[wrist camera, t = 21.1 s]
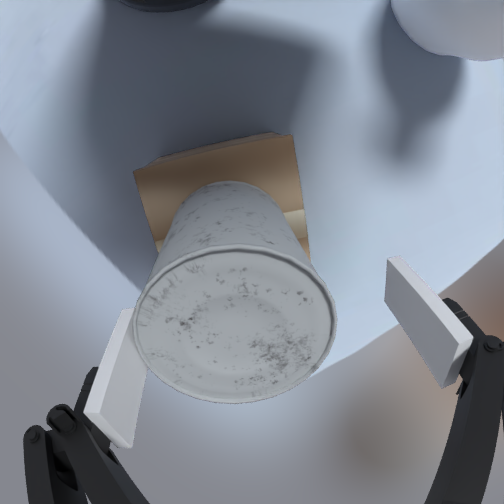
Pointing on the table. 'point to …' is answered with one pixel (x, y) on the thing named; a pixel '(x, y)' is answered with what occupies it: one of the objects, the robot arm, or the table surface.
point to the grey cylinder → (233, 300)
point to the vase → (454, 26)
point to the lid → (225, 169)
